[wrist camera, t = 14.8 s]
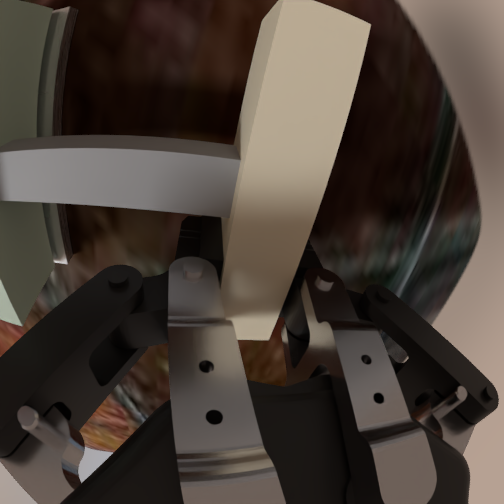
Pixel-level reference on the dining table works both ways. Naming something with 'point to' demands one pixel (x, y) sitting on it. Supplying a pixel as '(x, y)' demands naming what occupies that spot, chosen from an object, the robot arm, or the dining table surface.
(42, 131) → the frame
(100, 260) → the dining table surface
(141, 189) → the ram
